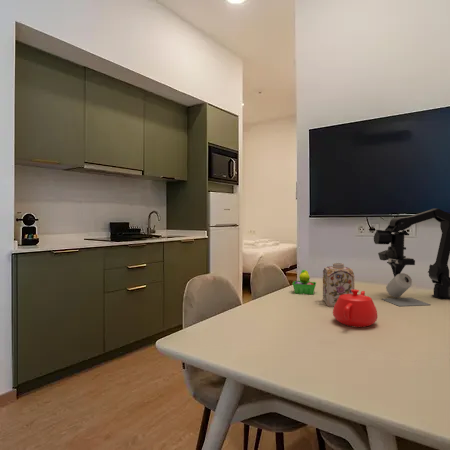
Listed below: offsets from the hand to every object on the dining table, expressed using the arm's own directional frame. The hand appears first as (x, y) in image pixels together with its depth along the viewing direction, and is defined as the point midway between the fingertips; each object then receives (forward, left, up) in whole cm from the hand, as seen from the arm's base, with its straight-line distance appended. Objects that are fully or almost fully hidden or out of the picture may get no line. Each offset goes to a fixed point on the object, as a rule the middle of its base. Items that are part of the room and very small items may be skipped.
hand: (396, 277), depth 168 cm
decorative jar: (+32, +6, -10) cm, 34 cm away
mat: (+1, +8, -10) cm, 13 cm away
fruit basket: (+39, -17, -10) cm, 44 cm away
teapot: (+38, +33, -10) cm, 51 cm away
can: (0, -2, -7) cm, 7 cm away
